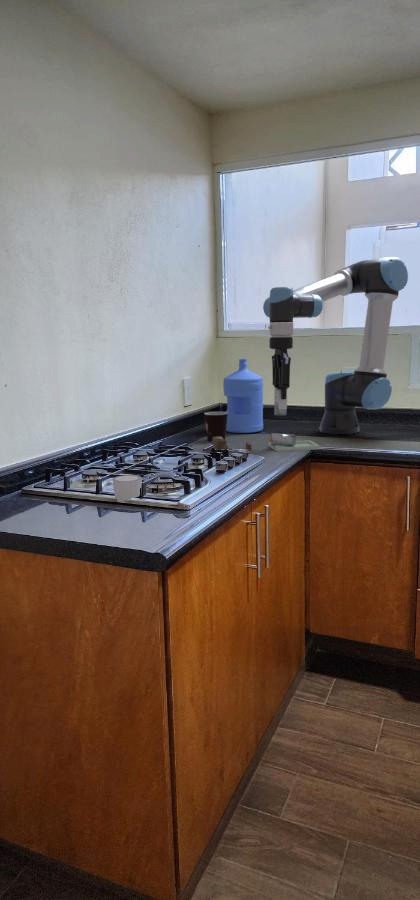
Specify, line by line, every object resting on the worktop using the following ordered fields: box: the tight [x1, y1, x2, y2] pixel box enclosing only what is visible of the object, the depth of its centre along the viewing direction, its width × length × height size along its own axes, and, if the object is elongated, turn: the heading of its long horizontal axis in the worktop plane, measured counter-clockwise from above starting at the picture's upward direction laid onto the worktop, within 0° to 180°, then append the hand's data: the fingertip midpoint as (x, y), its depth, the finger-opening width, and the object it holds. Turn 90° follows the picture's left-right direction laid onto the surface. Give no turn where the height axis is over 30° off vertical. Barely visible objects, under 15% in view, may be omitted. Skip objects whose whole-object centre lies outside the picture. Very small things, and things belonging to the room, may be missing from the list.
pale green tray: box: [268, 439, 321, 452], centre depth 203 cm, size 15×10×1 cm, turn 100°
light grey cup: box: [112, 474, 143, 503], centre depth 141 cm, size 7×7×7 cm
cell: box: [273, 389, 287, 416], centre depth 199 cm, size 4×4×9 cm
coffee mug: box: [203, 411, 228, 442], centre depth 220 cm, size 12×9×10 cm
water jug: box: [222, 358, 264, 434], centre depth 237 cm, size 16×16×28 cm
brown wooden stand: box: [211, 436, 253, 450], centre depth 200 cm, size 12×9×5 cm
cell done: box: [268, 432, 297, 447], centre depth 202 cm, size 4×4×9 cm
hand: (280, 408), depth 199 cm, fingers closed on cell, 4 cm apart
